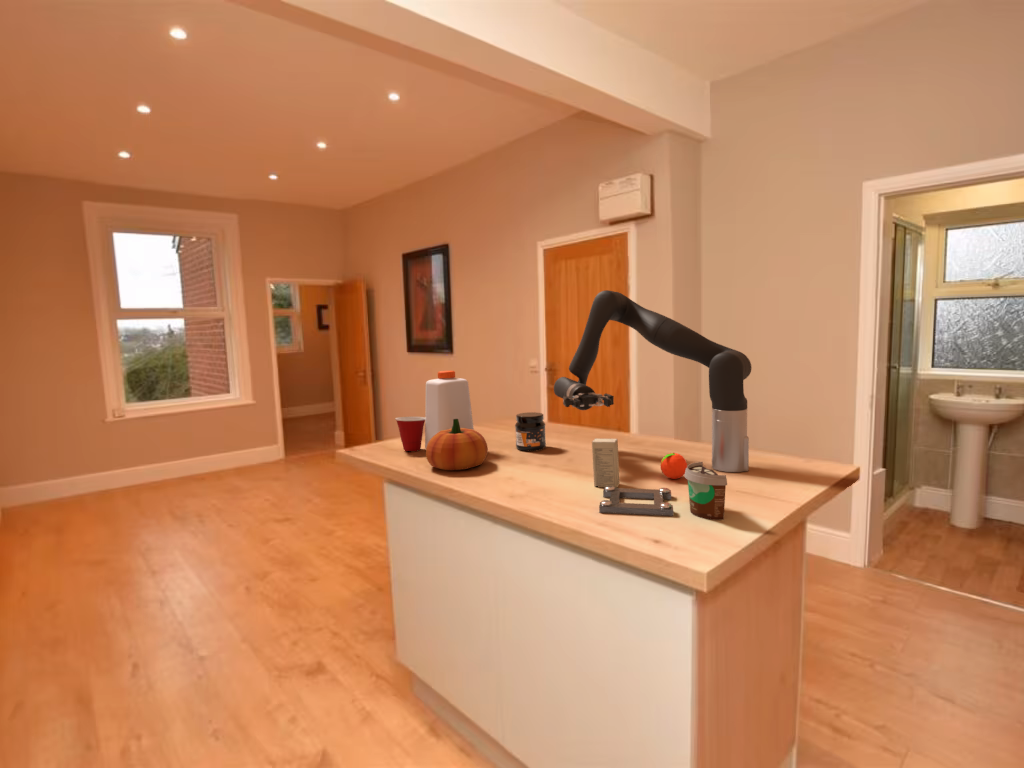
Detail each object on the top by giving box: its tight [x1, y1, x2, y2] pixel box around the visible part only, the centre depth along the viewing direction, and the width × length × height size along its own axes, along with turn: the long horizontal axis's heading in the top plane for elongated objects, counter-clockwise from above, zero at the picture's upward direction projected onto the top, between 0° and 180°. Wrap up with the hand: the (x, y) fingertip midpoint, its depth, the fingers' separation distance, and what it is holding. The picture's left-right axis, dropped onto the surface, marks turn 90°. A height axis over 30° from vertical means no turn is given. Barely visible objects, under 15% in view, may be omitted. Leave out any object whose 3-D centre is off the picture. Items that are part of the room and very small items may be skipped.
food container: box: [683, 461, 728, 521], centre depth 118 cm, size 12×6×10 cm, turn 5°
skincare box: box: [591, 438, 620, 488], centre depth 140 cm, size 6×4×12 cm
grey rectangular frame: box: [598, 486, 674, 517], centre depth 125 cm, size 16×14×2 cm
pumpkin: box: [425, 419, 489, 471], centre depth 166 cm, size 19×19×15 cm
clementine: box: [659, 452, 688, 480], centre depth 144 cm, size 8×7×7 cm
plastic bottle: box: [424, 370, 475, 450], centre depth 187 cm, size 15×15×28 cm
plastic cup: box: [394, 416, 425, 452], centre depth 191 cm, size 11×11×12 cm
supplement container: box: [514, 411, 547, 452], centre depth 186 cm, size 10×10×12 cm
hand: (594, 403), depth 150 cm, fingers open, 8 cm apart
